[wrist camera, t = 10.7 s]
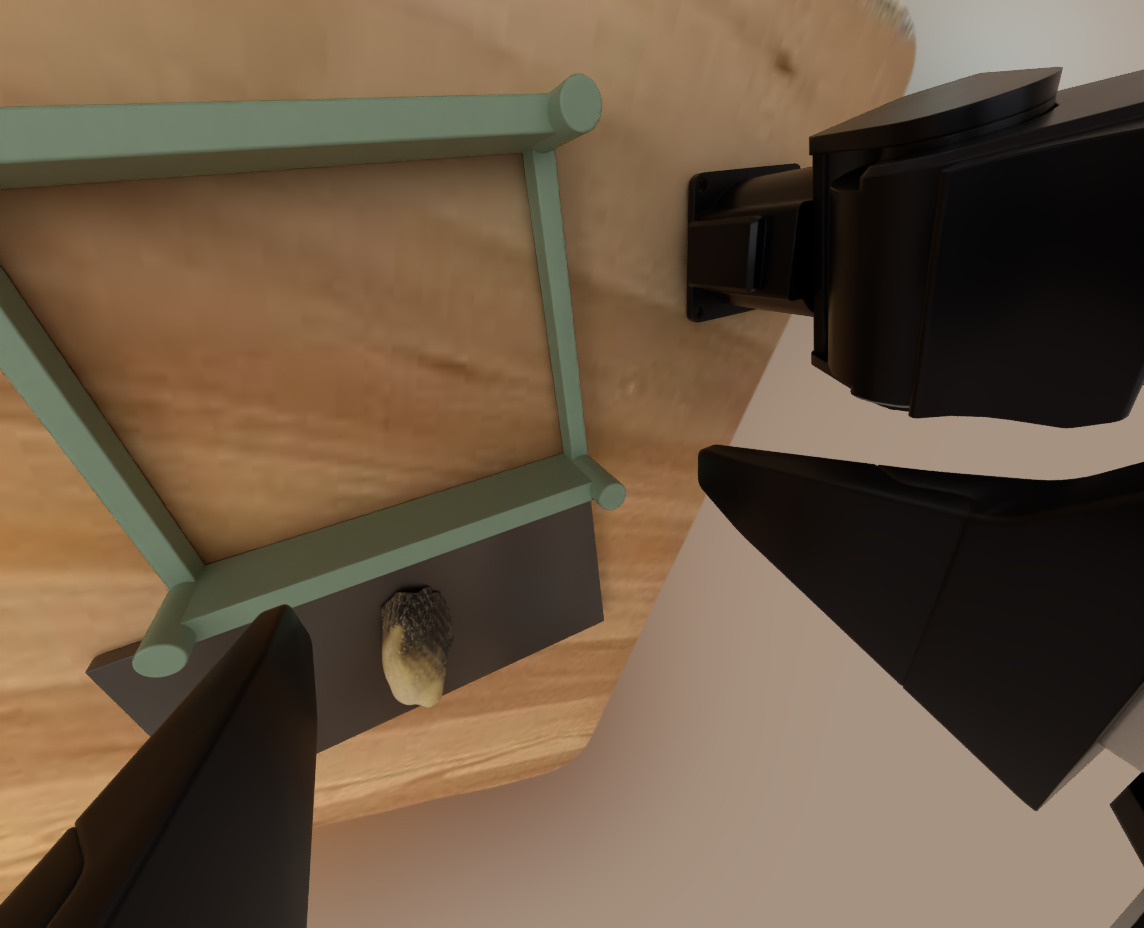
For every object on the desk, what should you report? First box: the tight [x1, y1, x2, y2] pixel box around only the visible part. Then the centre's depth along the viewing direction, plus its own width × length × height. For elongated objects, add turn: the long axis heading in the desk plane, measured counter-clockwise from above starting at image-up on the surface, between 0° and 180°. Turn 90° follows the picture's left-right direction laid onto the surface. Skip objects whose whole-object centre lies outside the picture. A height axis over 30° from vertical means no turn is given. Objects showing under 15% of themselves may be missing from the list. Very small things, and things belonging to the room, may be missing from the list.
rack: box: [0, 74, 626, 677], centre depth 15 cm, size 18×15×4 cm
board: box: [86, 501, 604, 754], centre depth 23 cm, size 22×10×1 cm, turn 98°
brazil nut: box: [380, 587, 454, 707], centre depth 22 cm, size 6×5×3 cm
